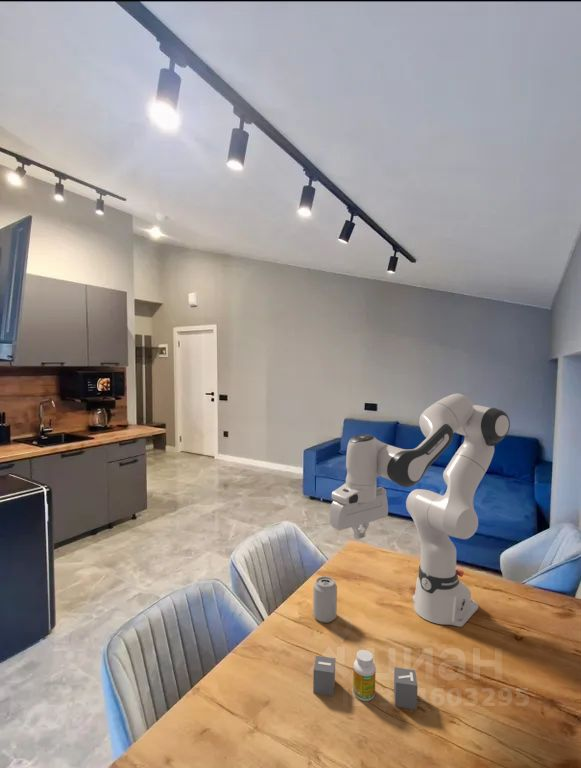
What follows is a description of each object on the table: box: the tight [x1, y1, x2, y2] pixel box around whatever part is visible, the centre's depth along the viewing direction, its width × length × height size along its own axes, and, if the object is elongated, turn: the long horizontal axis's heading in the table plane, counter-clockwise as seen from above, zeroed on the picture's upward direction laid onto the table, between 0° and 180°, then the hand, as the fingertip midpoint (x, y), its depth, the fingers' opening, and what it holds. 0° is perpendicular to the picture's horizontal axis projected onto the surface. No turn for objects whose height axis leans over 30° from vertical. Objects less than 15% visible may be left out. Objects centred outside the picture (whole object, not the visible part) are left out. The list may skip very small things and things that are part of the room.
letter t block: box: [393, 666, 418, 711], centre depth 100 cm, size 5×5×6 cm
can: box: [312, 575, 338, 624], centre depth 132 cm, size 8×8×12 cm
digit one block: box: [312, 655, 336, 697], centre depth 103 cm, size 5×5×6 cm
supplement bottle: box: [352, 649, 377, 702], centre depth 102 cm, size 5×5×10 cm
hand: (359, 537), depth 119 cm, fingers closed
